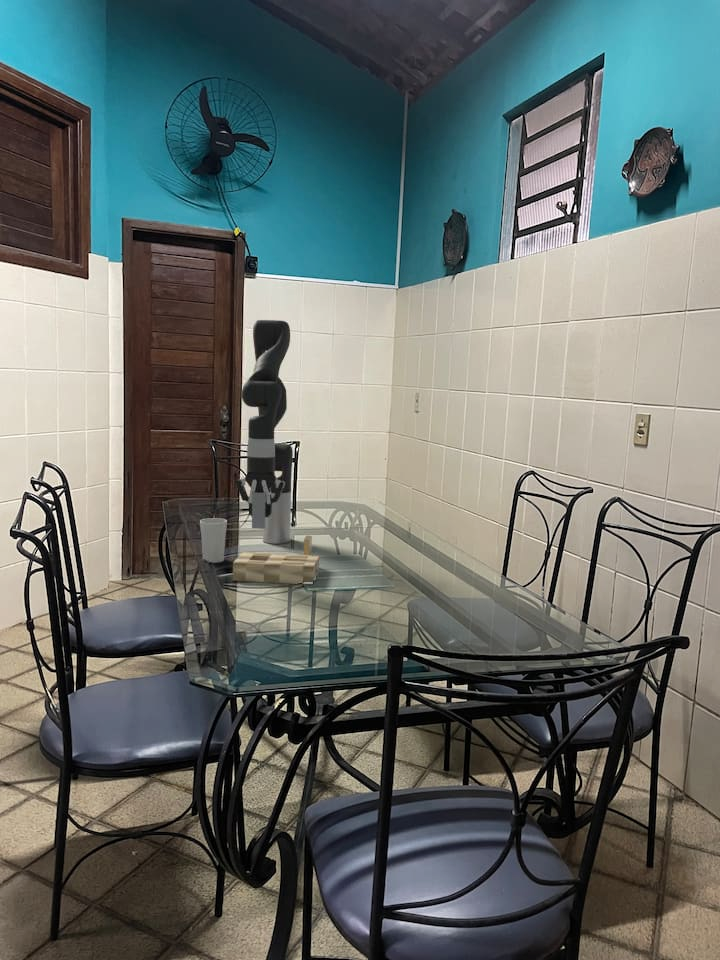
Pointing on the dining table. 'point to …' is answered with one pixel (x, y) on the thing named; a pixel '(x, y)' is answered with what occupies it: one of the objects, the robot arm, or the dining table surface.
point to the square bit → (259, 510)
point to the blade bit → (308, 545)
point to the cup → (213, 538)
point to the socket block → (275, 567)
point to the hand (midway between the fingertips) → (260, 516)
